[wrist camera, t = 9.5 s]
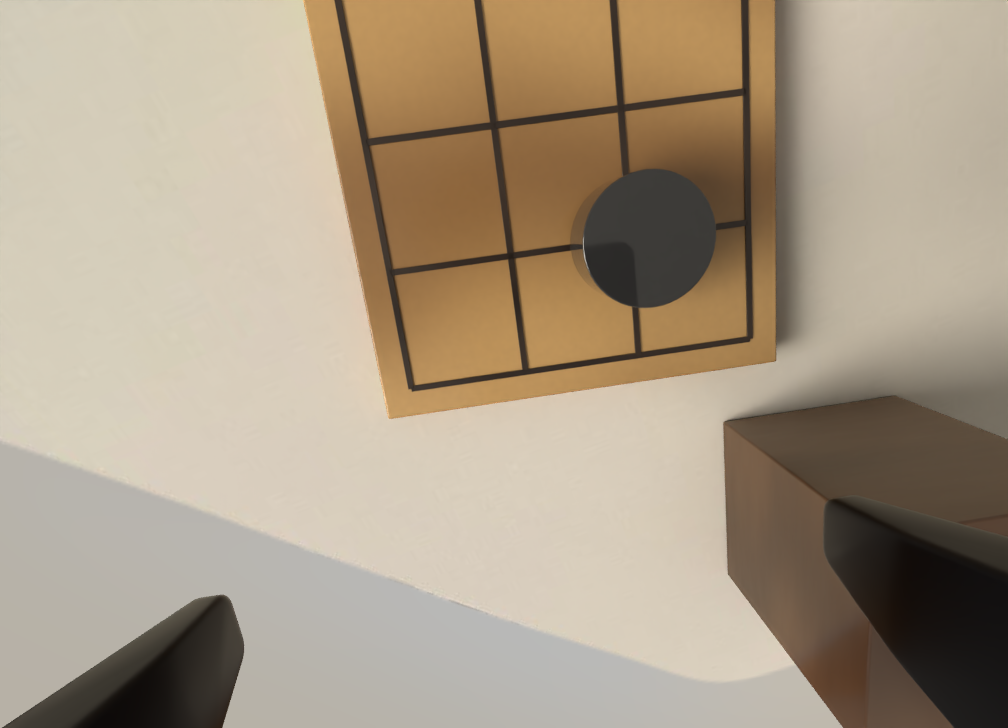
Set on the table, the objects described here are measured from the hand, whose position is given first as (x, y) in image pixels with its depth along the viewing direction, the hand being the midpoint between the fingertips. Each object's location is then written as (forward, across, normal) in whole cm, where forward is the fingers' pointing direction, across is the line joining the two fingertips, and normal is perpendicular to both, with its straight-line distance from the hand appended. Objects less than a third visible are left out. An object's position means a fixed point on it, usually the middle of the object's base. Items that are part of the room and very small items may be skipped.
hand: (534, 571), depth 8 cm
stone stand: (+12, -12, +7) cm, 18 cm away
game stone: (+11, -5, -4) cm, 12 cm away
